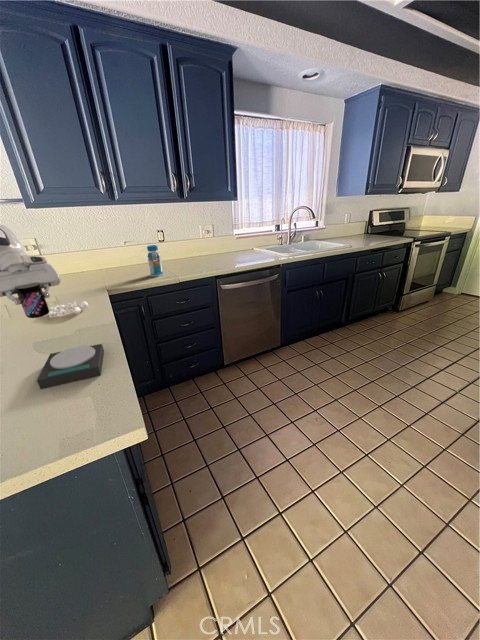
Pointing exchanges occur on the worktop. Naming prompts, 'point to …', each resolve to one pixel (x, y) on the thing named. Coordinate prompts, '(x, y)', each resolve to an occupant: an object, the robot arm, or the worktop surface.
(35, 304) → the supplement container
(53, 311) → the white bead necklace
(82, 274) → the worktop surface
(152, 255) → the beverage bottle
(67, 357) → the scale
